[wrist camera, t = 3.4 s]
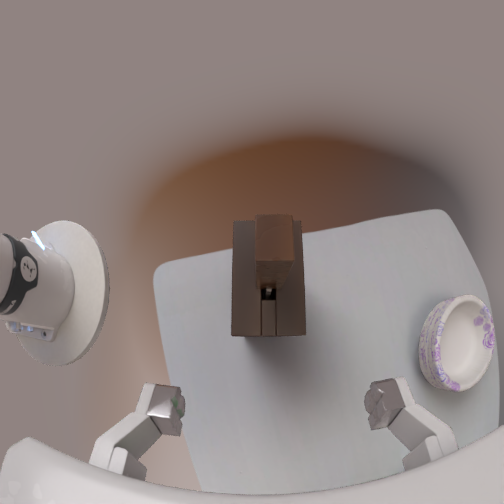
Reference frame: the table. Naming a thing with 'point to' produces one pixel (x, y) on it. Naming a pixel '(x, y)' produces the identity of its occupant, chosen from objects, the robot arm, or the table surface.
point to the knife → (273, 251)
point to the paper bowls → (456, 343)
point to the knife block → (252, 300)
